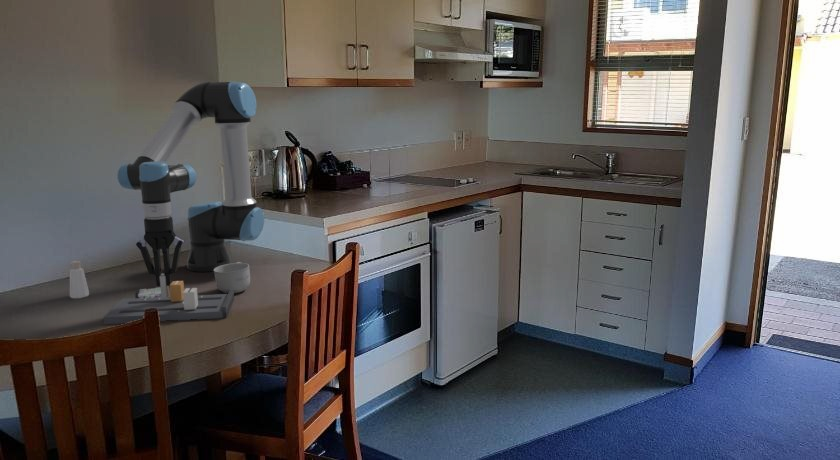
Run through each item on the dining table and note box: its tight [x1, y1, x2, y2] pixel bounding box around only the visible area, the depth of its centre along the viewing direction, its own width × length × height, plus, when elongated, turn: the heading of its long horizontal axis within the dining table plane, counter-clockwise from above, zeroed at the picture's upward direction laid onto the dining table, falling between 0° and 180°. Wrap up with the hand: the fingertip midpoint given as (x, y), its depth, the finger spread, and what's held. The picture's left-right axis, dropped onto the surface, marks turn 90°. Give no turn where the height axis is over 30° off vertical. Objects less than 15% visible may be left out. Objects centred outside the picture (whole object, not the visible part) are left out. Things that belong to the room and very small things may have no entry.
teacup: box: [213, 261, 251, 294], centre depth 204 cm, size 14×11×8 cm
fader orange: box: [169, 280, 185, 302], centre depth 187 cm, size 4×3×5 cm
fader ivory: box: [183, 287, 198, 310], centre depth 180 cm, size 4×3×5 cm
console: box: [103, 290, 235, 325], centre depth 184 cm, size 16×32×3 cm, turn 98°
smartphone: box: [136, 286, 161, 298], centre depth 198 cm, size 7×1×15 cm
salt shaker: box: [69, 260, 90, 299], centre depth 198 cm, size 5×5×11 cm
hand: (165, 296), depth 187 cm, fingers closed
